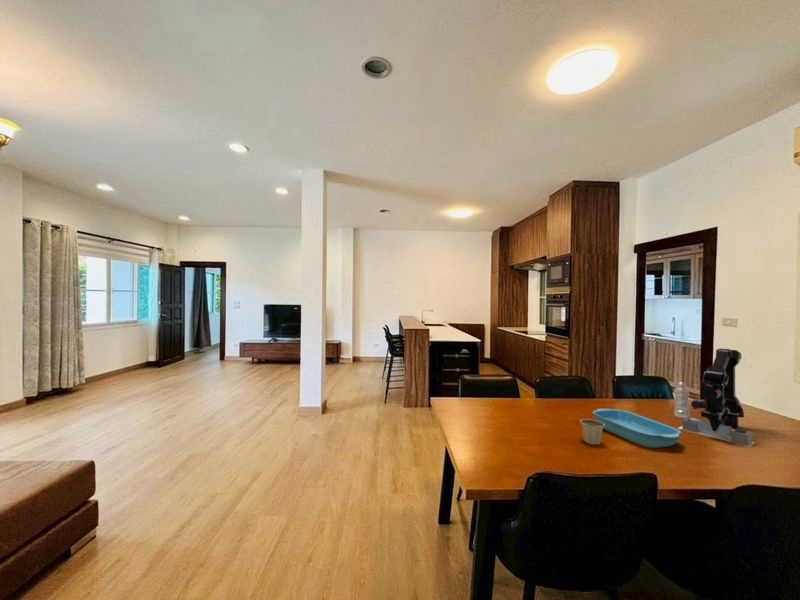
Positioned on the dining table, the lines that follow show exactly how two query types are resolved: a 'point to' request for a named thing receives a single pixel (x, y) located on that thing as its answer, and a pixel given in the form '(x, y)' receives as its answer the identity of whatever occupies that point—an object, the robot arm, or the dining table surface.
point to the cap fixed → (689, 425)
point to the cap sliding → (741, 436)
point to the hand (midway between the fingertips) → (715, 430)
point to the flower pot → (592, 431)
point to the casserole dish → (637, 428)
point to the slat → (707, 427)
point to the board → (717, 436)
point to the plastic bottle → (681, 400)
